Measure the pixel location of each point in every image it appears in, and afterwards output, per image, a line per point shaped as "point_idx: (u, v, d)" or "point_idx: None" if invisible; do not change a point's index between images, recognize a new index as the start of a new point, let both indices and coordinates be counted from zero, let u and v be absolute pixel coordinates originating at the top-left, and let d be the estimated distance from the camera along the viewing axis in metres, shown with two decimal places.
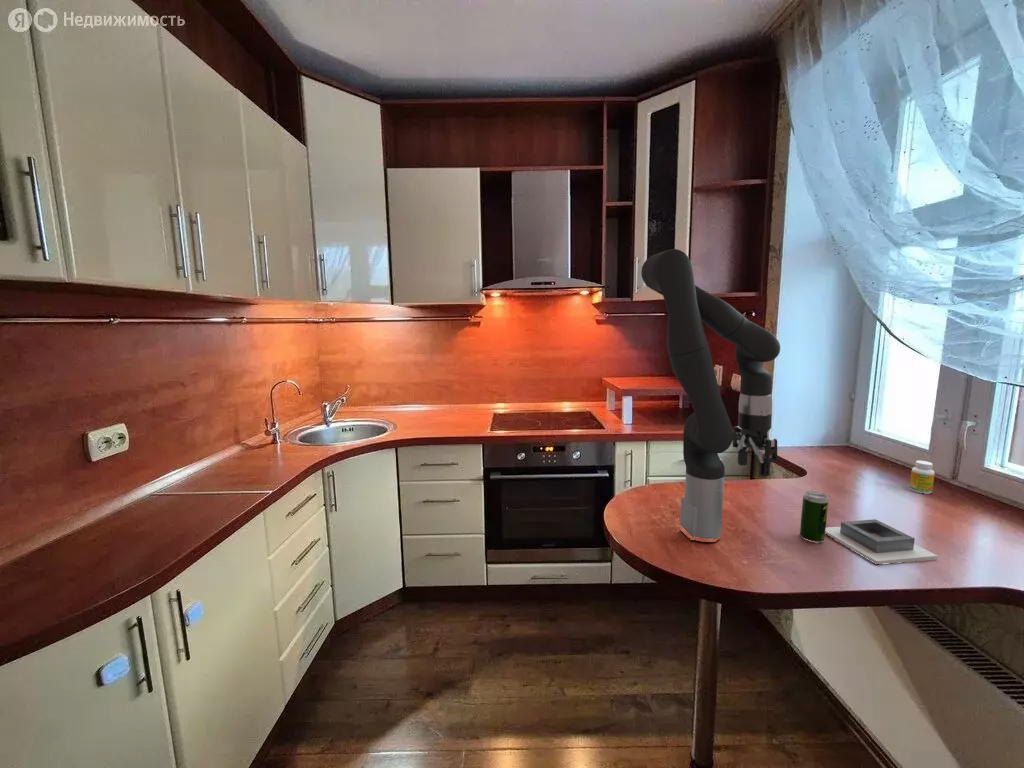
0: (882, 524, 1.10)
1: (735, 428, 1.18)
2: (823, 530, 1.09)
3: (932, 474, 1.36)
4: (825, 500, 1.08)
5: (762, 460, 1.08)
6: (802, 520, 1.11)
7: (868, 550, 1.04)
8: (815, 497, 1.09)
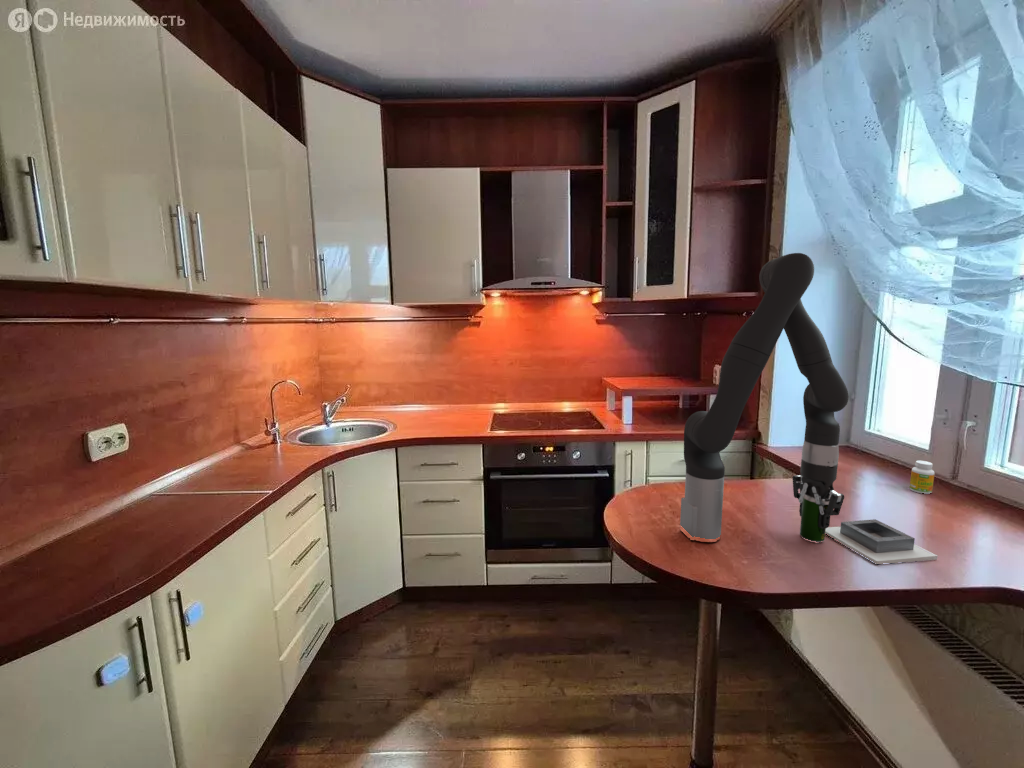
0: (882, 524, 1.10)
1: (794, 477, 1.15)
2: (823, 530, 1.09)
3: (932, 474, 1.36)
4: (825, 500, 1.08)
5: (822, 512, 1.06)
6: (802, 520, 1.11)
7: (868, 550, 1.04)
8: None
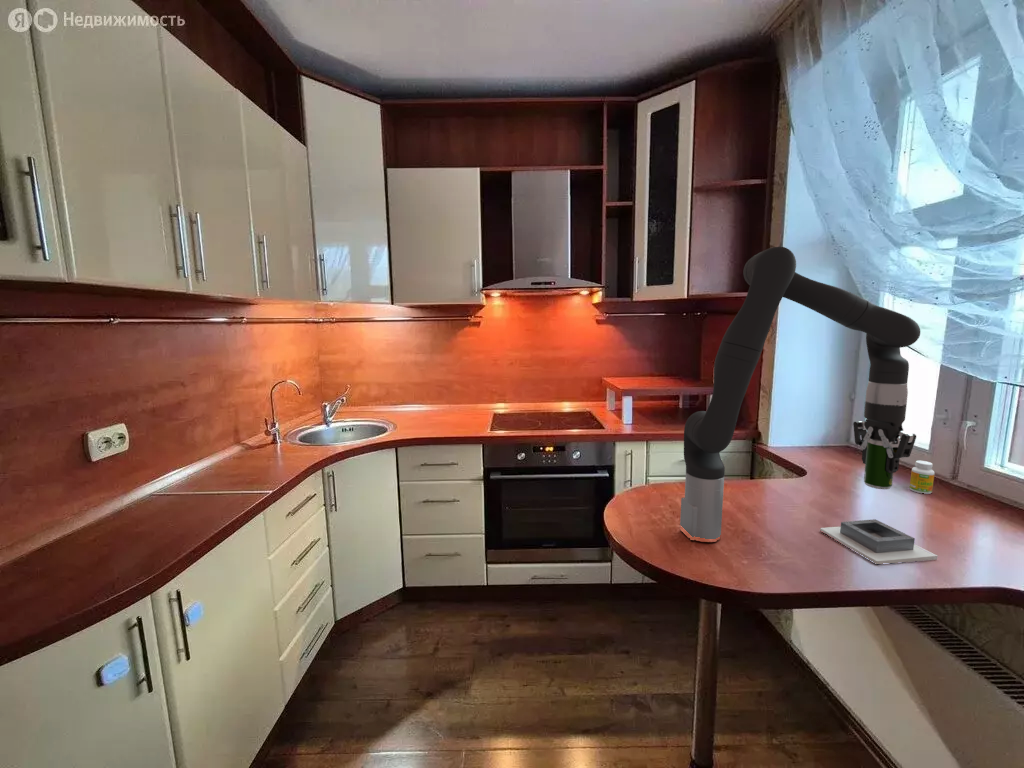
0: (882, 524, 1.10)
1: (856, 423, 1.10)
2: (891, 475, 1.03)
3: (932, 474, 1.36)
4: (893, 443, 1.02)
5: (891, 455, 1.01)
6: (867, 466, 1.06)
7: (868, 550, 1.04)
8: None
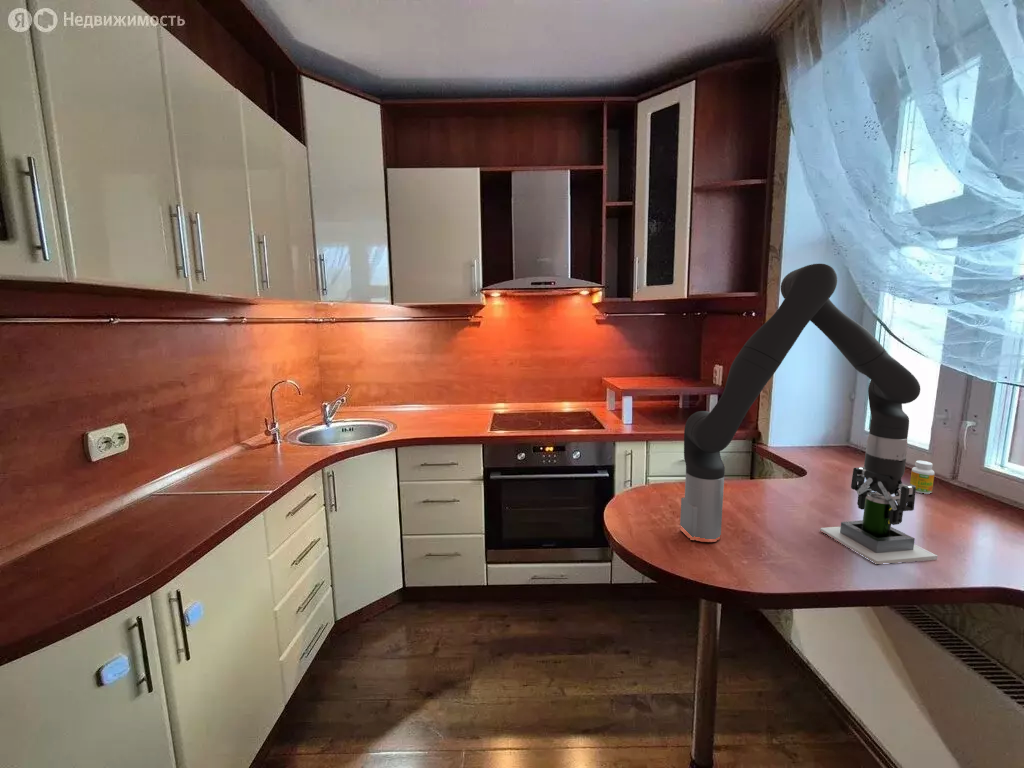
0: None
1: (856, 469, 1.11)
2: (888, 532, 1.05)
3: (932, 474, 1.36)
4: None
5: (895, 507, 1.01)
6: (864, 521, 1.08)
7: (868, 550, 1.04)
8: (880, 498, 1.05)
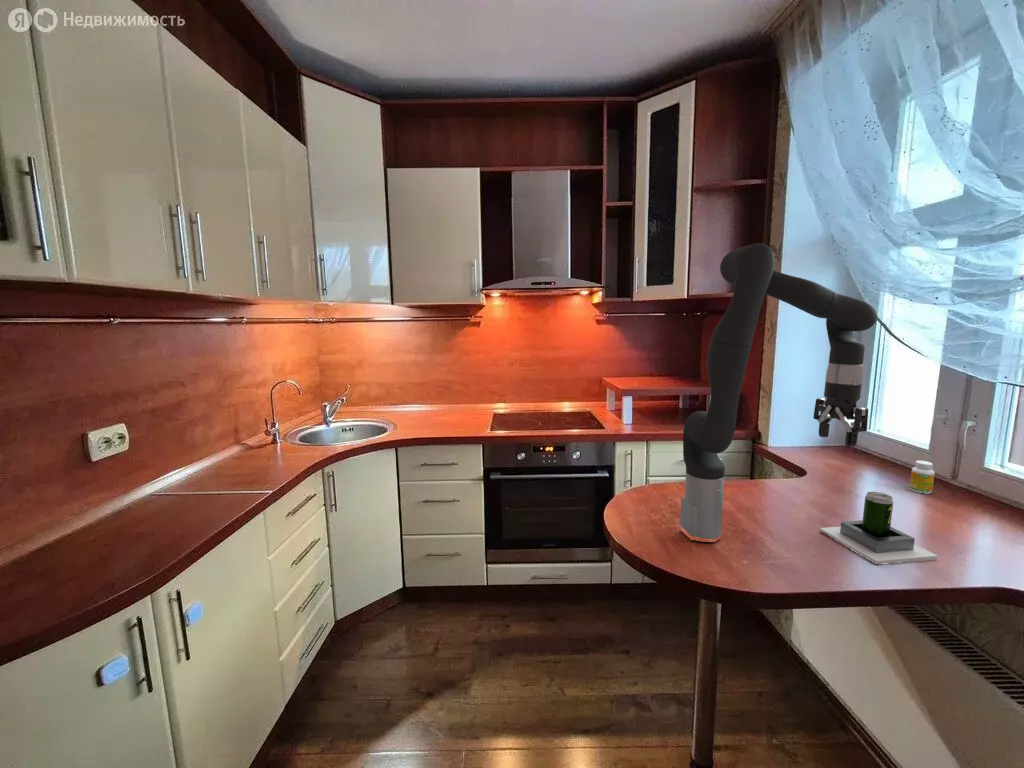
0: None
1: (818, 400, 1.18)
2: (887, 532, 1.05)
3: (932, 474, 1.36)
4: (890, 501, 1.04)
5: (850, 429, 1.08)
6: (864, 521, 1.08)
7: (868, 550, 1.04)
8: (879, 498, 1.05)
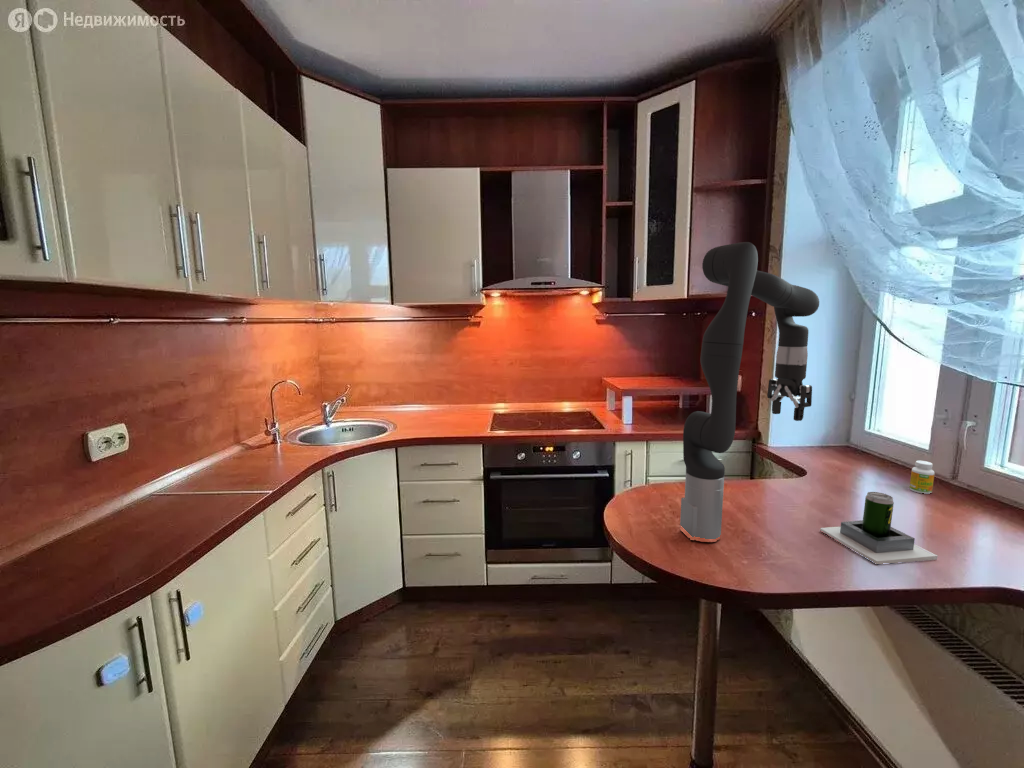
0: None
1: (770, 380, 1.30)
2: (888, 532, 1.05)
3: (932, 474, 1.36)
4: (890, 501, 1.04)
5: (797, 405, 1.20)
6: (864, 521, 1.08)
7: (868, 550, 1.04)
8: (880, 498, 1.05)
